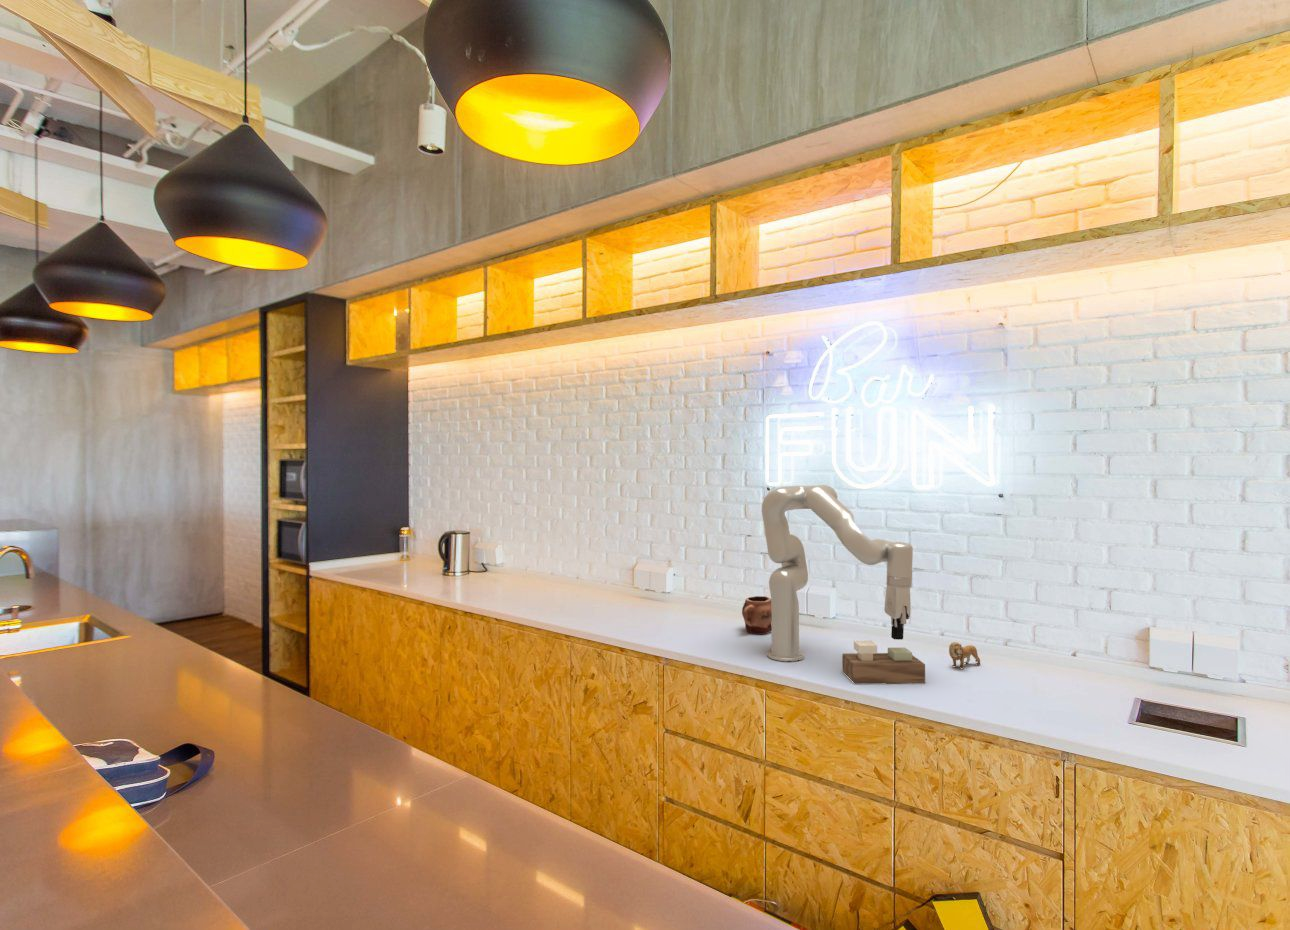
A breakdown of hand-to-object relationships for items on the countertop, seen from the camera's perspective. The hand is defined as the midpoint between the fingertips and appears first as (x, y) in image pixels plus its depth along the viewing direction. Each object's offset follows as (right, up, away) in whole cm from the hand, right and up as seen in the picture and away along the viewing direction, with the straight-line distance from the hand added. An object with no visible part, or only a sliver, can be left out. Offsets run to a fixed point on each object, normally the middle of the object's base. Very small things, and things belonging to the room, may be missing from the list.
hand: (897, 638), depth 212 cm
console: (-5, -12, 0) cm, 13 cm away
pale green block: (+1, -10, 0) cm, 11 cm away
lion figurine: (+26, -12, +10) cm, 31 cm away
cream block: (-10, -8, 0) cm, 13 cm away
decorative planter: (-35, -12, +55) cm, 67 cm away
